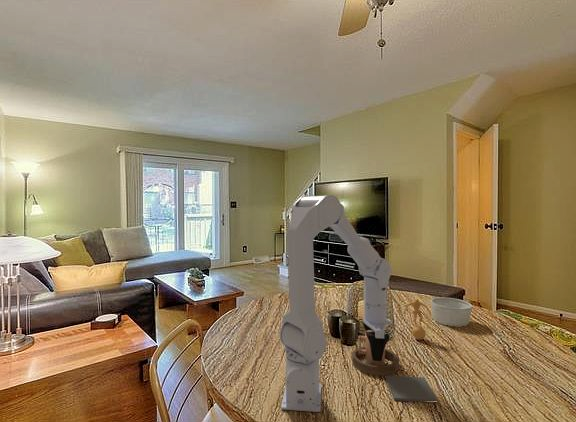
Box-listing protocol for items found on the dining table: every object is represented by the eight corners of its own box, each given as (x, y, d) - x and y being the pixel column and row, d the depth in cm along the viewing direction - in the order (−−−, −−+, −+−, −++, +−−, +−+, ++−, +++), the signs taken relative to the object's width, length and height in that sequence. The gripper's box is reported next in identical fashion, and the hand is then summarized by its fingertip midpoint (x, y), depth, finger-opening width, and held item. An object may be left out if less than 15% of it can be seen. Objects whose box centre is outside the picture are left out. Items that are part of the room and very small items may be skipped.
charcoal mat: (438, 403, 65) (438, 400, 65) (394, 400, 66) (394, 397, 66) (424, 379, 74) (424, 377, 74) (385, 377, 75) (385, 375, 75)
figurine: (406, 341, 95) (406, 302, 95) (401, 333, 101) (401, 296, 101) (435, 342, 95) (435, 303, 94) (428, 334, 101) (428, 297, 100)
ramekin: (480, 329, 105) (480, 308, 105) (440, 328, 106) (440, 308, 105) (459, 315, 119) (459, 297, 118) (424, 315, 119) (424, 297, 119)
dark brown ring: (403, 376, 75) (403, 368, 75) (354, 373, 77) (354, 365, 77) (392, 354, 87) (392, 347, 87) (350, 352, 88) (350, 345, 88)
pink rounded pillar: (382, 359, 84) (383, 330, 84) (386, 369, 79) (386, 337, 79) (357, 358, 85) (357, 329, 85) (359, 367, 80) (359, 336, 80)
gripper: (397, 312, 74) (397, 369, 74) (385, 295, 88) (385, 343, 89) (367, 311, 75) (366, 367, 75) (360, 294, 89) (359, 341, 89)
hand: (374, 354), depth 82 cm, fingers open, 6 cm apart
